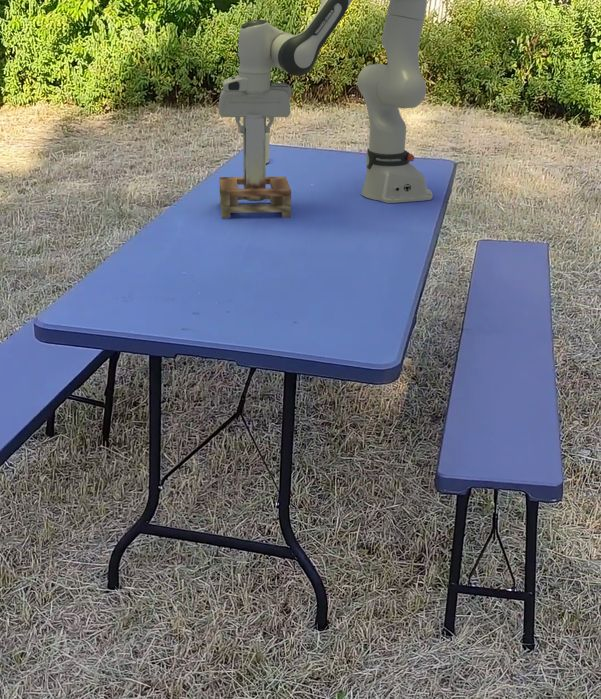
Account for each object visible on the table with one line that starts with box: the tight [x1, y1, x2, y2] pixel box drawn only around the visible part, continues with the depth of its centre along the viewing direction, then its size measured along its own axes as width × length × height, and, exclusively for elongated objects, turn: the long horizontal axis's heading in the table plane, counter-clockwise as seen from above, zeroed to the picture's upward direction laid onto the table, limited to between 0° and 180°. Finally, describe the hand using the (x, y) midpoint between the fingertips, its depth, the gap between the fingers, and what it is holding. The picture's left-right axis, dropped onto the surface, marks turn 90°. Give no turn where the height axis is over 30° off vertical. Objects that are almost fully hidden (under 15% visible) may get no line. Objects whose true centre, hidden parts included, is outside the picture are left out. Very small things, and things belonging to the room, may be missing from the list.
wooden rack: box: [218, 176, 292, 219], centre depth 252 cm, size 20×15×8 cm
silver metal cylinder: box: [242, 114, 267, 202], centre depth 247 cm, size 6×6×25 cm
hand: (254, 132), depth 244 cm, fingers closed on silver metal cylinder, 6 cm apart
